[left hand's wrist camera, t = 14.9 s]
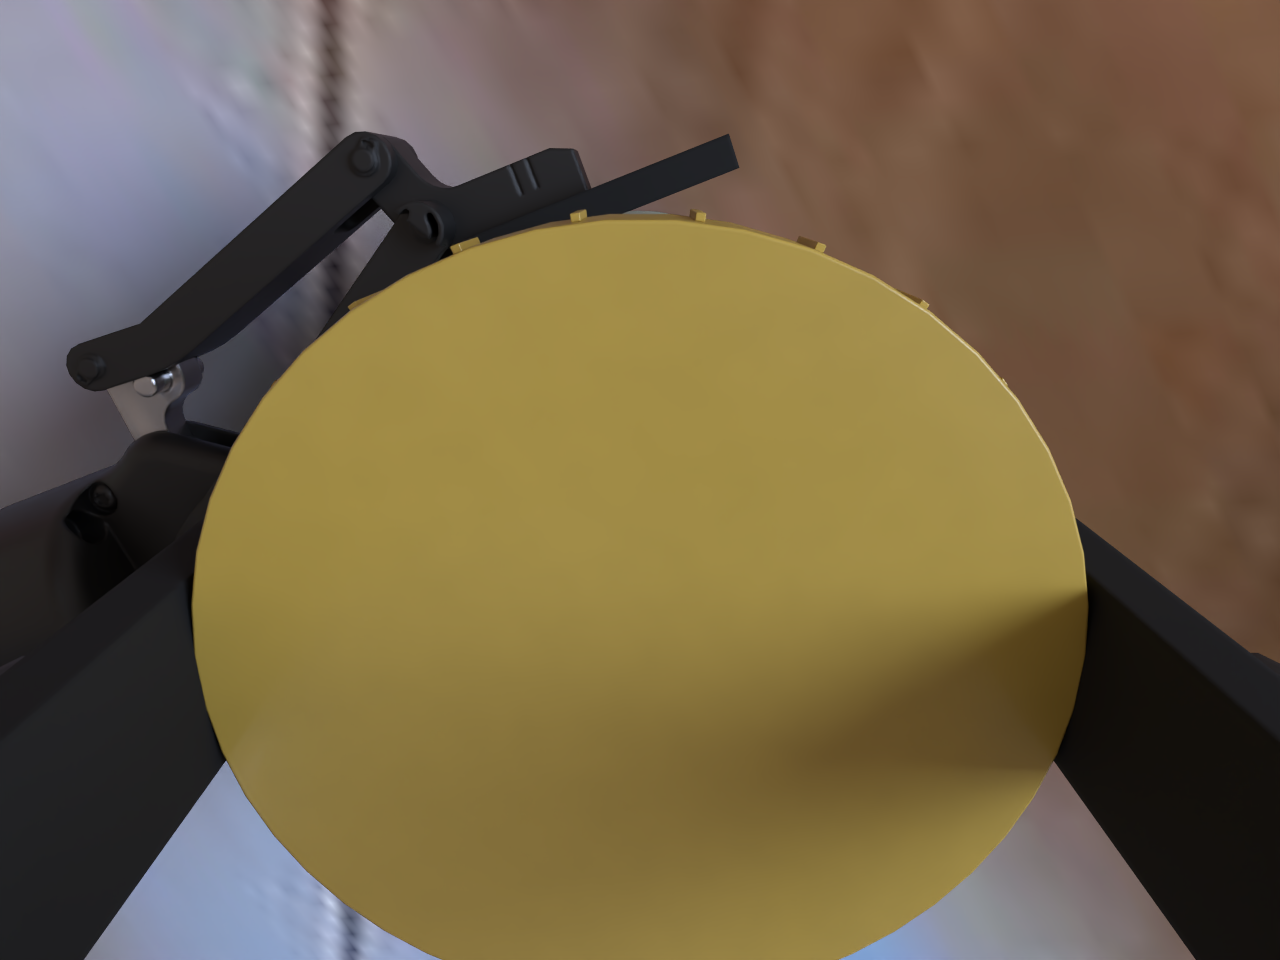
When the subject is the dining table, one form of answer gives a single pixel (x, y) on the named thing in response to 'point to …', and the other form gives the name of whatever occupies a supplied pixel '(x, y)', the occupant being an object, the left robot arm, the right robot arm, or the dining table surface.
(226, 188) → the dining table surface
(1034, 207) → the dining table surface
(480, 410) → the lid
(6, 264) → the dining table surface
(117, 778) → the left robot arm
